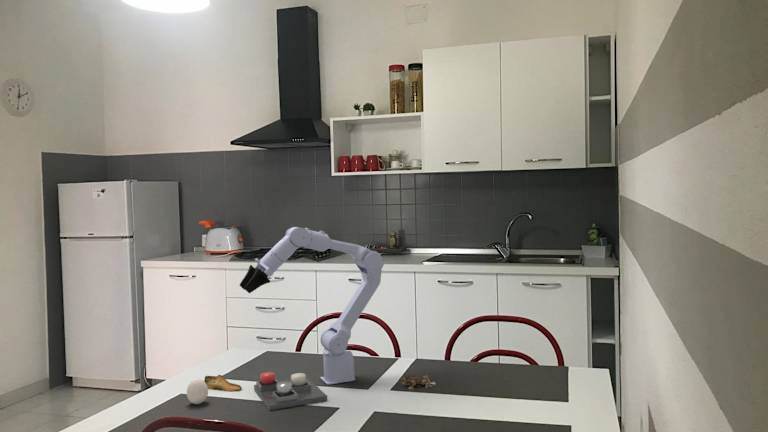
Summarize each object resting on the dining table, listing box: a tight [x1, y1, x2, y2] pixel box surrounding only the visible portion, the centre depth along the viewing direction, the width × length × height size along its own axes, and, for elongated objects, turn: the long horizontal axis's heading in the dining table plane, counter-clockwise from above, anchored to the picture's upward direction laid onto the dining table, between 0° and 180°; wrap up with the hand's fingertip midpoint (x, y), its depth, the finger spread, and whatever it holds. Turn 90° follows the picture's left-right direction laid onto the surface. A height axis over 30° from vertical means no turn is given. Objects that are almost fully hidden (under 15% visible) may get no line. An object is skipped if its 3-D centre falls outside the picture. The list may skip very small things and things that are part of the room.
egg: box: [186, 377, 209, 405], centre depth 192 cm, size 6×6×8 cm
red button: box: [259, 371, 276, 384], centre depth 200 cm, size 4×4×2 cm
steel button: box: [277, 382, 292, 395], centre depth 189 cm, size 4×4×2 cm
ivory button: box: [290, 372, 307, 386], centre depth 198 cm, size 4×4×2 cm
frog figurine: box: [400, 374, 436, 390], centre depth 202 cm, size 12×12×4 cm
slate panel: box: [253, 376, 328, 411], centre depth 197 cm, size 17×21×3 cm
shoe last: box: [203, 374, 242, 392], centre depth 206 cm, size 4×14×5 cm, turn 65°
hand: (244, 289), depth 197 cm, fingers open, 7 cm apart
